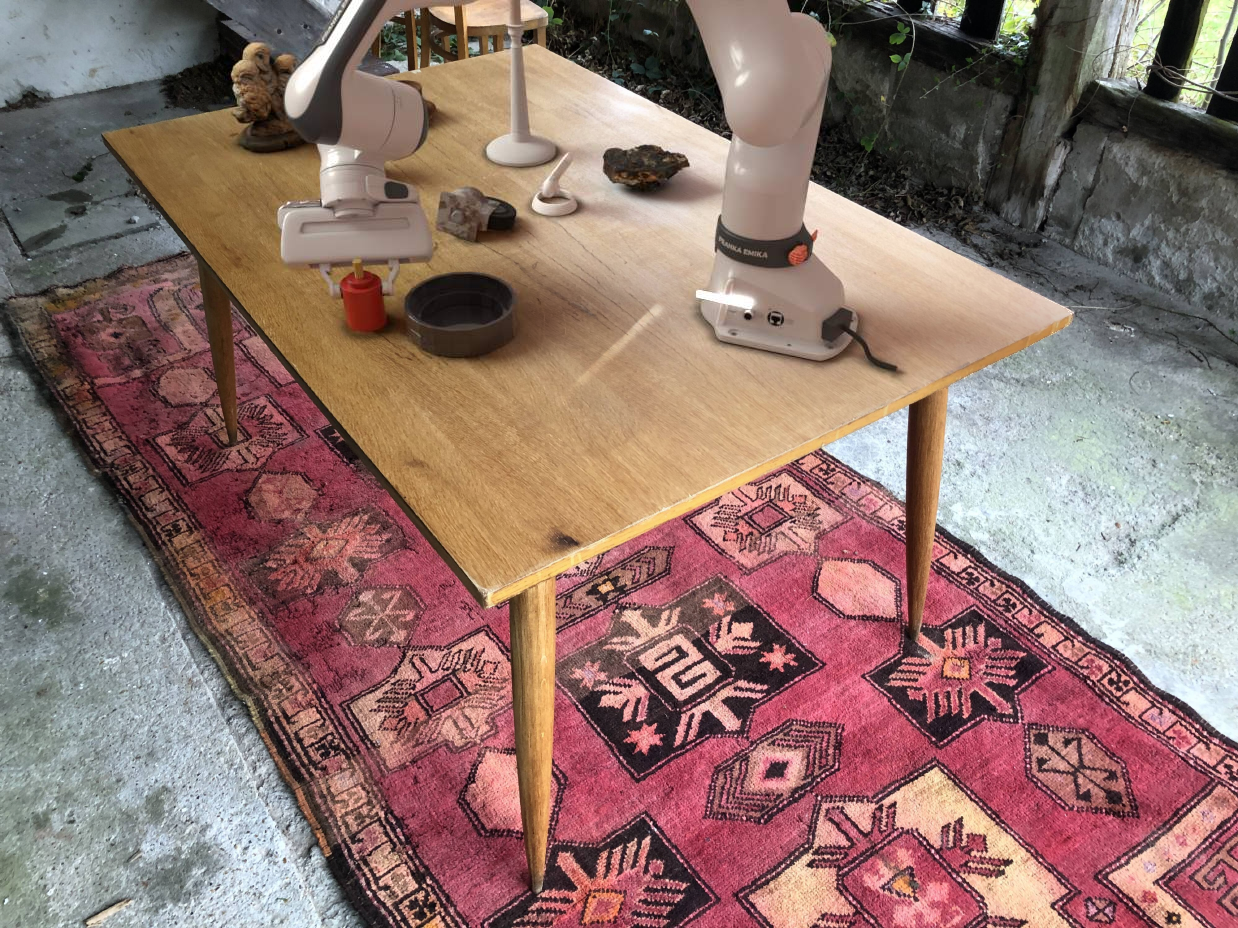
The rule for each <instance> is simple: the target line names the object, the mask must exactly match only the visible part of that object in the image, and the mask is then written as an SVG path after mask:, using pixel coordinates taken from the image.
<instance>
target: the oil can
mask: <svg viewBox="0 0 1238 928" xmlns="http://www.w3.org/2000/svg"><path fill="white" fill-rule="evenodd" d="M352 262H353V267H352V268H353V271H352V272H350V273H348V274H347V275H346V276H344V277H343V278H342V279H341V280H340V282H339V284H340V286H341V291H342V297H343V299H342V302H343V306H344V312H345V313H344V314H345V318H346V323H347V327H348V328H349V329H351V330H352V331H355V332H359V333H368V332H374V331H377V330H379V329H381V328H383V327H384V326H385V325H386V324H387V322H388V317H387V310H386V303H385V296H383V295H382V286H381V281H382V278H381V277H380V275H377V274H376V273H373V272H371V271H369V270H364V266H362V260H361V259H354V260H353V261H352Z"/></svg>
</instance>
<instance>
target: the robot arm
mask: <svg viewBox="0 0 1238 928" xmlns="http://www.w3.org/2000/svg"><path fill="white" fill-rule="evenodd" d="M477 1H479V0H341V1H340V2H339V4H338V6H337V7H336V9H335V10H334V12H333V14H332V16H331V17H330V19H329V21H328V23H327V24H326V25H325V27H324V29H323V31H322V32H321V34H320V35H319V37H318V39H317V40H316V42H315V44H314V45H313V47H312V48H311V49H310V51H309V52H308V53H307V54H306V55H305V56H304V57H303V58H302V60H301V61H300V62H299V64H298V65H297V67H296V68H295V69H294V70H293V72H292V73H291V75H290V77H289V79H288V81H287V84H286V87H285V92H284V109H285V112H286V115H287V117H288V119H289V121H290V122H291V124H292V125H293V127H294V128H295V130H296V131H297V132H298V133H299V134H300V136H301V137H302V138H303V139H304V140H305V141H307V142H306V143H310V144H316V146H317V150H318V153H319V155H320V167H319V168H320V169H319V173H318V175H319V186H320V198H316V199H314V198H313V199H306V200H305V199H304V200H289V201H287V203H285V204H283V205H281V206H280V208H278V210H277V214H276V218H277V226H278V227H277V228H278V229H279V230H280V232H281V236H280V258H281V260H282V262H283V264H284V265H285V266H286V267H287V268H289V270H291V271H302V270H318V269H319V273H320V275H321V276H322V278H323V280H325V282H326V284H327V285H328V288H329V296H330V299H331V300H332V301H333V300H343V297H342V291H341V286H340V283H334V281H333V280H332V278H331V276H333V269H338V268H339V269H340V268H353V262H352V261H353V260H354V259H361V260H362V266H363V267H370V266H371V267H373V266H386V265H387V266H388V269H389V272H390V273H389V276H388V277H387V280H381V286H382V295H383V296H384V297H394V296H395V289H394V284H395V283H396V281H397V279H398V277H399V275H400V273H401V265H406V264H407V265H409V264H427V263H431V261H432V260H433V258H434V257H435V249H434V242H433V236H432V231H431V228H430V227H431V226H430V224H429V221H428V217H427V213H426V211H425V210H424V208H423V207H422V206H421V203H422V202H421V197H420V193H419V190H418V188H417V187H416V186H415V185H414V184H410V183H407V182H403V181H399V180H395V179H392V178H387V175H386V171H385V165H386V163H387V162H390V161H392V162H395V161H400V160H403V159H405V158H408V157H410V156H412V155H413V154H415V153H417V151H418V150H420V149H421V147H423V145H424V144H425V142H426V140H427V138H428V133H429V127H430V126H429V125H430V123H429V122H430V121H429V119H428V111H427V107H426V104H425V101H424V99H423V98H424V96H423V97H422V95H423V94H422V95H421V94H420V92H419V91H418V90H417V89H416V88H414V87H411V86H409V85H407V84H404V83H401V82H398V80H394V79H391V78H388V77H384V76H379V75H375V74H372V73H370V72H369V73H368V72H365V71H362V70H359V69H358V67H359V66H360V64H361V62H362V61H363V59H364V58H365V57H366V54H367V53H368V51H369V50H370V48H371V47H372V45H373V43H374V42H375V40H377V39H376V38H377V37H378V35H379V34H380V33H381V32H382V29H383V28H384V27H385V25H386V24H387V23H388V22H389V21H390V20H392V19H394V17H397V16H398V15H400V14H403V13H405V12H409V11H412V10H417V9H425V8H439V7H444V8H445V7H447V8H449V7H451V8H453V7H461V6H466V5H471V4H473V3H475V2H477ZM685 2H686V4H687V6H688V8H689V10H690V12H691V14H692V16H693V19H694V21H695V24H696V26H697V29H698V31H699V34H700V38H701V40H702V43H703V45H704V49H705V52H706V54H707V58H708V60H709V64H710V67H711V70H712V73H713V75H714V77H715V79H716V83H717V86H718V88H719V91H720V95H721V99H722V103H723V109H724V116H725V119H726V123H727V124H728V125H727V126H729V128H730V130H731V132H732V136H731V141H730V145H729V150H728V155H727V158H726V164H725V172H724V173H725V174H724V183H723V193H722V204H721V212H720V214H719V215H718V217H717V222H716V227H715V232H714V233H715V234H714V253H715V258H714V262H713V267H712V271H711V274H710V279H709V282H708V285H707V288H706V291H703V290H699V289H697V290H696V296H695V297H696V298H699V299H702V300H701V302H700V311H701V314H702V316H703V318H704V319H705V320H706V321H707V322H708V323H709V324H710V325H711V326H712V328H713V330H714V334H715V337H716V338H717V340H719V341H721V342H724V343H728V344H733V345H739V346H743V347H749V348H754V349H758V350H762V351H763V350H764V351H766V352H767V351H769V352H771V353H778V354H782V355H787V356H793V357H797V358H802V359H807V360H811V361H818V362H823V361H825V360H826V361H827V360H829V359H832V358H833V357H836V356H837V355H839V354H840V353H842V352H843V351H844V350H845V349H846V348H847V347H848V346H849V345H850V344H851V342H852V341H853V339H854V340H855V341H856V342H858V343H859V345H860V346H861V347H862V349H863V352H864V354H865V356H866V358H867V360H869V362H871V363H872V364H874V365H875V366H878V367H880V368H883V369H886V370H891V371H894V372H896V371H897V369H898V366H897V365H895V364H892V363H888V362H885V361H881V360H879V359H877V358H876V357H875V356H873V354H872V353H871V350H870V348H869V345H868V343H867V342H866V341H865V340H864V338H863V337H861V336H860V335H859V334H858V333H857V330H858V323H859V318H858V315H857V312H856V311H855V310H854V309H853V308H850V307H848V306H846V293H845V287H844V284H843V282H842V280H841V279H840V278H839V276H837V275H836V274H835V273H834V272H833V271H832V270H831V269H830V268H828V266H827V265H826V264H825V263H824V262H823V261H822V260H821V259H820V258H819V257H818V256H817V255H816V254H815V253H814V252H813V249H814V242H815V241H816V240H817V238H818V233H819V230H818V229H816V230H815V231H814V232H813V233H812V234H811V233H810V232H809V229H807V227H806V224H805V222H804V216H805V210H806V204H807V198H808V191H809V185H810V179H811V173H812V167H813V163H814V157H815V154H816V148H817V143H818V138H819V134H820V127H821V123H822V118H823V113H824V108H825V101H826V98H827V97H826V96H827V91H828V87H829V81H830V76H831V69H832V63H833V56H832V47H831V42H830V39H829V35H828V34H827V31H826V29H825V28H824V27H823V25H822V24H821V23H820V21H818V20H817V19H816V18H815V17H813V16H811V15H809V14H806V13H804V12H791V10H790V7H789V3H788V0H685Z"/></svg>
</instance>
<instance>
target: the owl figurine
mask: <svg viewBox="0 0 1238 928" xmlns="http://www.w3.org/2000/svg"><path fill="white" fill-rule="evenodd" d="M270 49H271V48H270V47H269V46H268V45H267V44H265V43H264V42H251V43H248V44H247V46H246V47H245V48H244V50H243V52H242V60H239V61H238V62H237V63H235V65H233V67H232V71H231V73H230V76H231V79H232V82H233V85H232V91H233V93H234V96H235V98H236V104H237V107H235V108H234V110H231V111H230V115H231V116H232V117H234V118H235V119H236V121H237V123H239V124H242V125H243V124H245V125H246V124H247V125H246V126H245V127H244V128H243V130H241V132H240V133H238V136H237V142H238V144H239V146H240V147H242V148H247V149H249V150H250V151H254V152H258V153H259V152H261V153H262V152H263V153H269V152H276V151H279V150H284V149H286V146H287V147H288V148H295V147H297V146H300V145H301V144H304V143H308V142H307V141H305V140H304V139H303V138H302V137H301V136H300V134H299V133H298V132H297V131H296V130H295V128H294V127H293V125H292V124H291V122H290V121H289V119H288V117H287V115H286V112H285V109H284V92H285V87H286V84H287V81H288V79H289V77H290V75H291V73H292V72H293V70H294V69H295V68H296V67H297V65H298V64H299V63H300V62H299V61H298V59H297V58H296V57H295V56H294V55H292V54H285V53H284V54H282V55H279V56H278V57H277V58H276V59H275V60H274V61H273V64H272V65H271V63H270V55H271V50H270ZM285 142H286V143H287V145H286V143H285Z"/></svg>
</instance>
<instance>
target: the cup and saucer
mask: <svg viewBox="0 0 1238 928" xmlns="http://www.w3.org/2000/svg"><path fill="white" fill-rule="evenodd" d="M397 81H398V82H401V83H404V84H407V85H409V86H411V87H414V88H416V89H417V90H418V91H419V92H420V94H421V95H422V97H423V99H424V101H425V104H426V107H427V111H428V120H429V119H431V118H432V117H433V116H434V115H435V114H436V111H437V106H436V104H435V103H434V102H432V101H430V100H428V99H426V98H424V96H423V86H422V84H421V83H420V82H418V81H414V80H410V79H398V80H397Z"/></svg>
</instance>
